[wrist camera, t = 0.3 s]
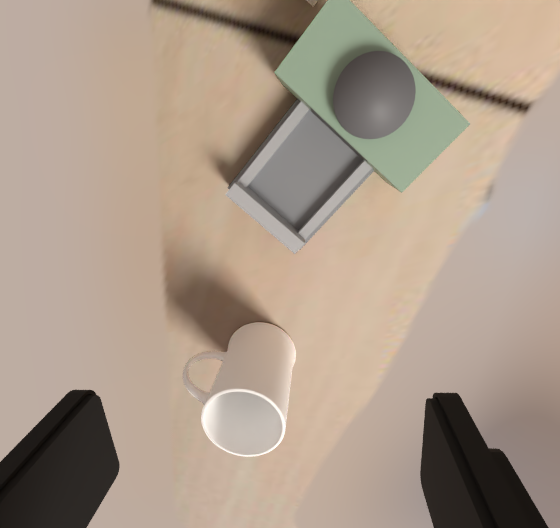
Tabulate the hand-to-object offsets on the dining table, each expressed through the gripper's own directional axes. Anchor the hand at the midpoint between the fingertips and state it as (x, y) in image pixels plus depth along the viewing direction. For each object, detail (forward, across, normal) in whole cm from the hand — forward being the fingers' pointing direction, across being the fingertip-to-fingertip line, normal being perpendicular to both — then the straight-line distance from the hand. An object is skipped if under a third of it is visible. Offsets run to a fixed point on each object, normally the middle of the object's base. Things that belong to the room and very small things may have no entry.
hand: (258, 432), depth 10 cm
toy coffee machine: (+30, -2, -6) cm, 31 cm away
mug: (+30, +7, +16) cm, 35 cm away
